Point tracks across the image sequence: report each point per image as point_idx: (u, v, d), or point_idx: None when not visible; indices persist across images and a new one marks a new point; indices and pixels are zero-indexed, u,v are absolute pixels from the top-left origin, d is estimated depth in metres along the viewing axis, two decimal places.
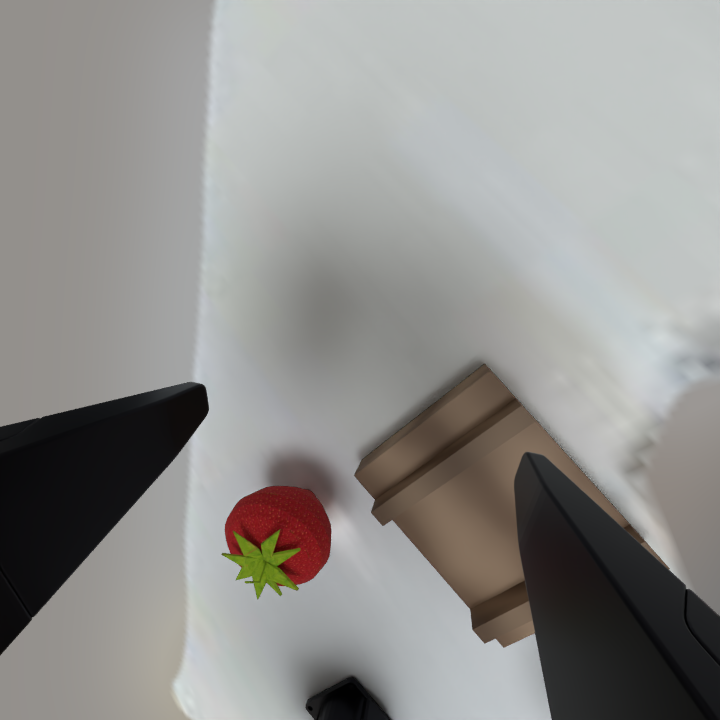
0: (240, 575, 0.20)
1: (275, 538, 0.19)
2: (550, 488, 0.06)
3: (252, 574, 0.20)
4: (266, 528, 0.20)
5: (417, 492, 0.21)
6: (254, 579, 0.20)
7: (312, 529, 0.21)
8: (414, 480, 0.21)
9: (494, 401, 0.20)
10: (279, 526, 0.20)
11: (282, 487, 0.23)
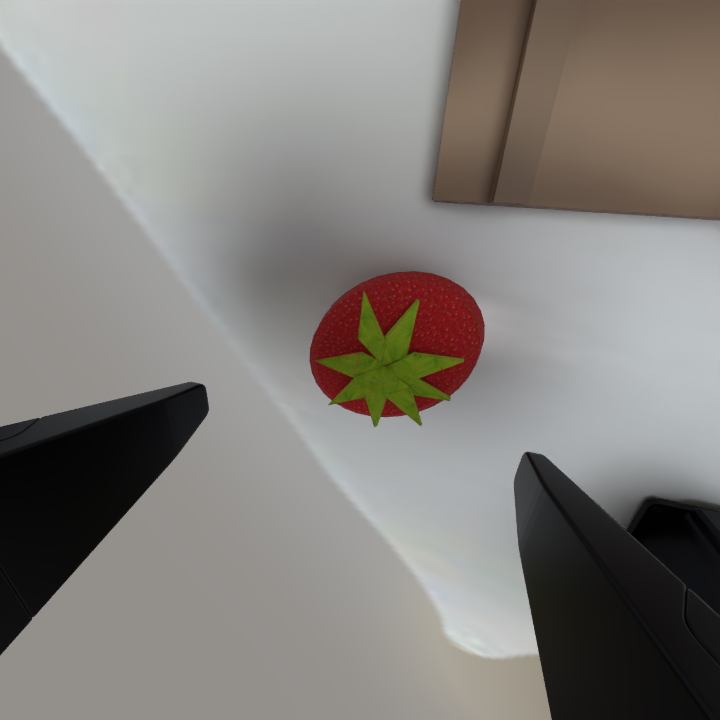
0: (374, 413, 0.12)
1: (368, 309, 0.11)
2: (550, 488, 0.06)
3: (384, 394, 0.12)
4: (355, 324, 0.12)
5: (542, 79, 0.10)
6: (393, 399, 0.12)
7: (421, 280, 0.12)
8: (521, 69, 0.10)
9: None
10: (369, 305, 0.12)
11: None
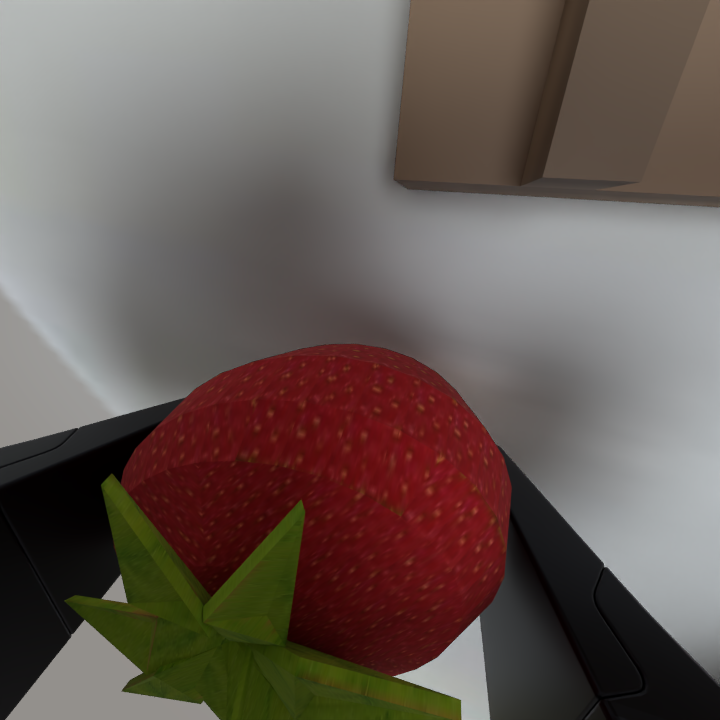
0: None
1: (136, 536, 0.03)
2: None
3: None
4: (162, 513, 0.04)
5: None
6: None
7: (342, 395, 0.04)
8: None
9: None
10: (192, 470, 0.04)
11: None
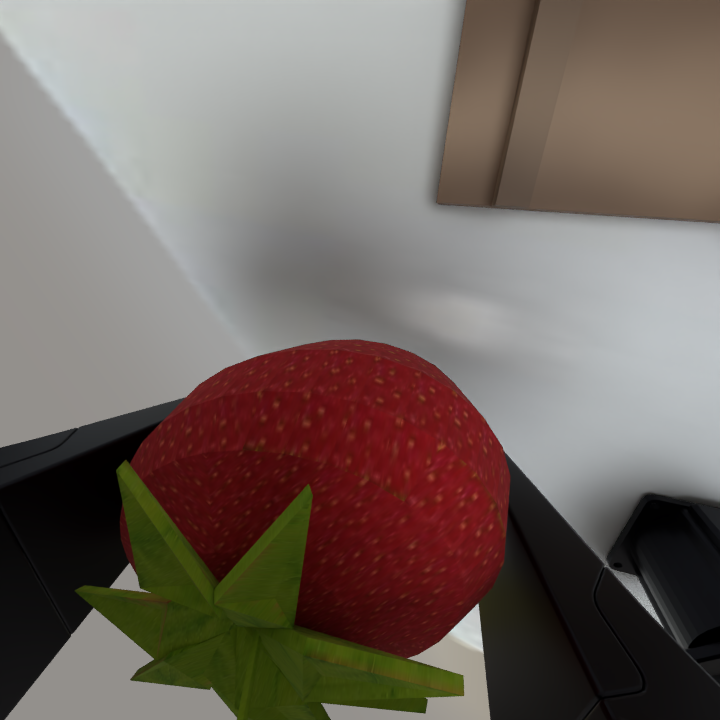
0: None
1: (149, 521, 0.03)
2: None
3: None
4: (170, 503, 0.04)
5: (543, 88, 0.11)
6: (268, 719, 0.04)
7: (345, 386, 0.04)
8: (523, 78, 0.11)
9: None
10: (201, 460, 0.04)
11: None
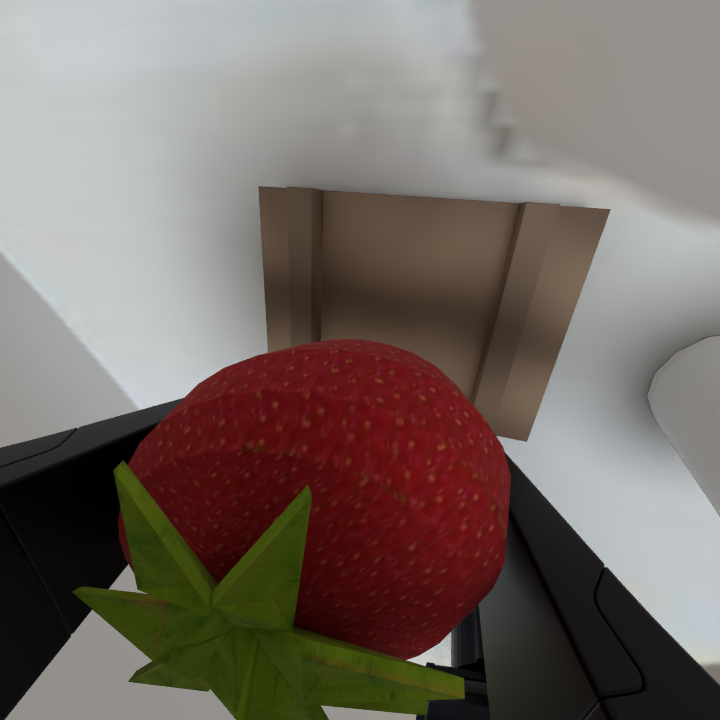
0: (237, 714, 0.05)
1: (146, 522, 0.03)
2: None
3: None
4: (169, 503, 0.04)
5: None
6: None
7: (345, 386, 0.04)
8: None
9: None
10: (199, 461, 0.04)
11: None
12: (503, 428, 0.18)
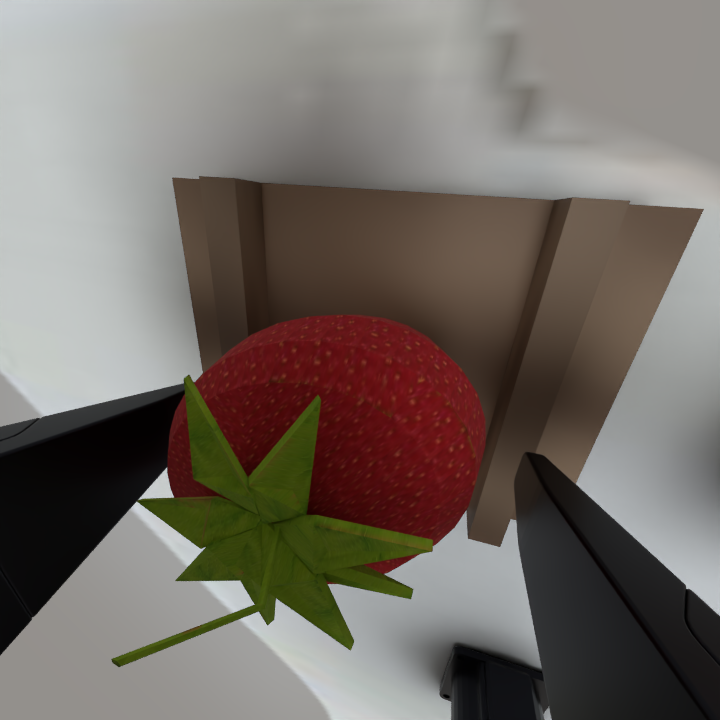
0: None
1: (203, 420, 0.04)
2: (550, 488, 0.06)
3: None
4: None
5: None
6: (286, 598, 0.05)
7: (347, 337, 0.05)
8: None
9: None
10: (236, 393, 0.05)
11: None
12: None
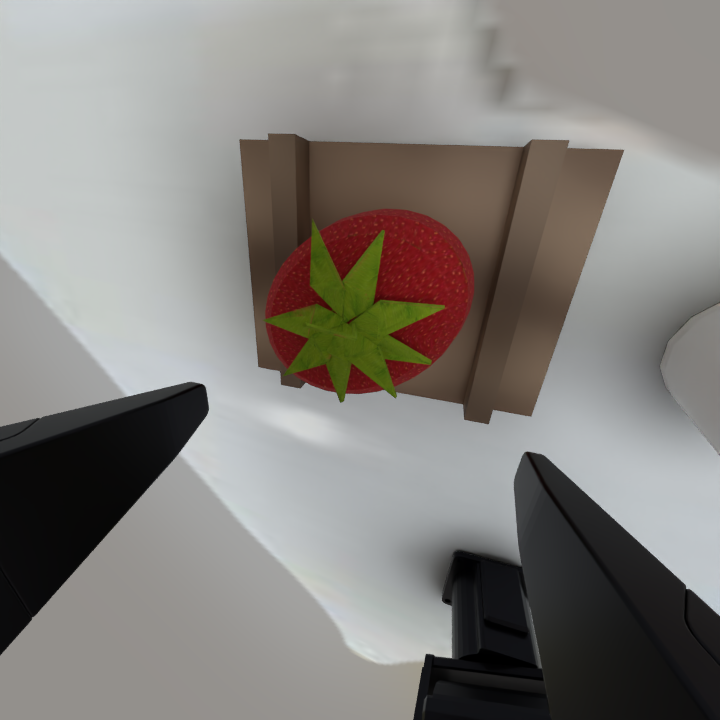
0: (338, 385, 0.10)
1: (320, 245, 0.08)
2: (550, 488, 0.06)
3: (347, 357, 0.09)
4: (310, 272, 0.09)
5: None
6: (358, 364, 0.09)
7: (391, 213, 0.09)
8: None
9: None
10: (326, 246, 0.09)
11: None
12: (506, 402, 0.17)
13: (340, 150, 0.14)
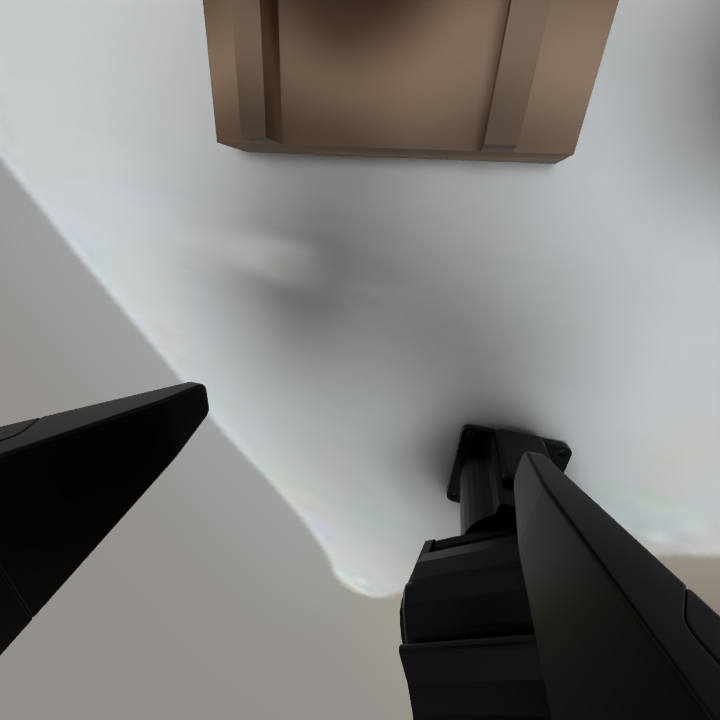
0: None
1: None
2: (550, 488, 0.06)
3: None
4: None
5: (248, 28, 0.13)
6: None
7: None
8: None
9: None
10: None
11: None
12: (539, 136, 0.13)
13: None
